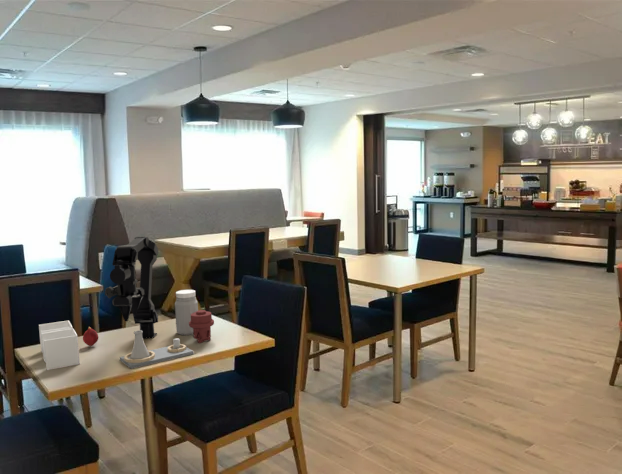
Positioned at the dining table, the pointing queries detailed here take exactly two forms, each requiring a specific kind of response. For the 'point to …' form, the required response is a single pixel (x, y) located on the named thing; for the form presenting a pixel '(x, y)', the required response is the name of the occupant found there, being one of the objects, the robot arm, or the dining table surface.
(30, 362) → the dining table surface
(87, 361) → the dining table surface
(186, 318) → the jar
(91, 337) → the onion
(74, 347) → the storage container
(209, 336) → the mechanical component
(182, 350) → the board
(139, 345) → the flask
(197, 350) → the dining table surface
